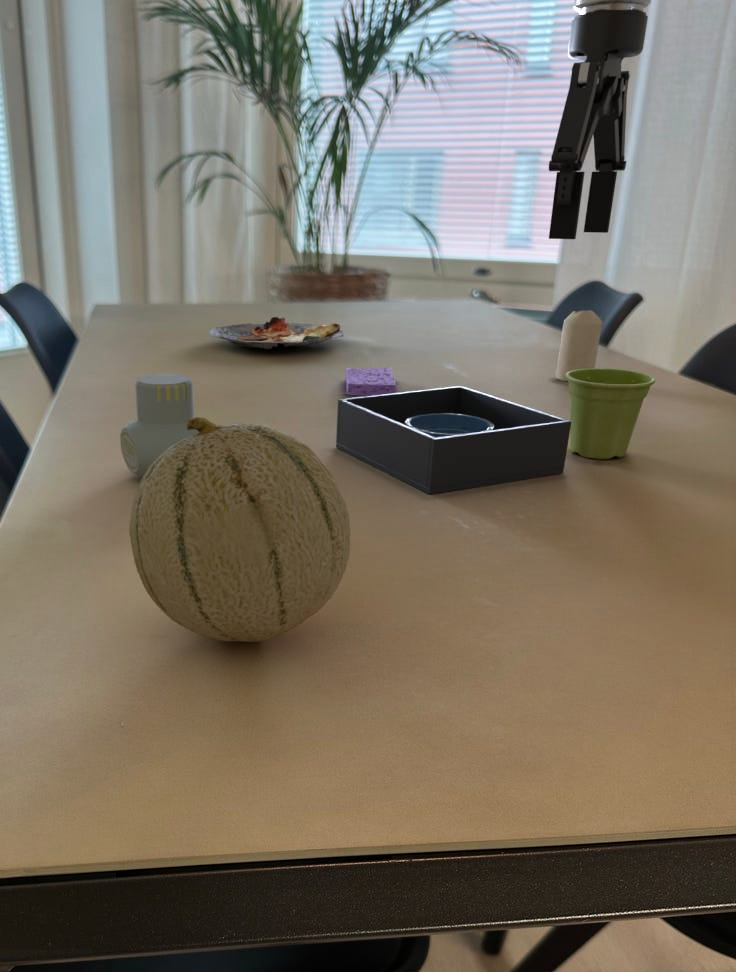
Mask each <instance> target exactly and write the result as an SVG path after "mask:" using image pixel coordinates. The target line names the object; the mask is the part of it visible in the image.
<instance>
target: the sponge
mask: <svg viewBox="0 0 736 972" xmlns="http://www.w3.org/2000/svg"><path fill="white" fill-rule="evenodd" d="M392 369H393V368H392V367H384V368H383V367H380V368H379V367H378V368H375V367H374V368H357V367H356V368H355V367H352V368H351V367H346V371H345V383H346V394H347V395H348V396H349V395H350V396H356V397H365V396H374V395H383V394H392V393H396V388H397V384H396V380H395V377H394V373H393V370H392Z"/></svg>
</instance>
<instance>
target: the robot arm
mask: <svg viewBox="0 0 736 972" xmlns="http://www.w3.org/2000/svg"><path fill="white" fill-rule="evenodd" d="M651 2H652V0H574V4H573V9H574V10H575V11H576V12H577V13H578V15H575V17H574V18H573V19H572V20H571V25H570V31H569V32H570V33H569V41H568V48H567V49H568V50H567V56H568V58H570V59H572V60H575V61H579V62H574V63H573V64H572V67H571V75H570V80H569V88H568V92H567V96H566V99H565V103H564V108H563V111H562V114H561V119H560V123H559V127H558V129H557V130H558V131H557V134H556V138H555V143H554V147H553V149H552V154H551V156H550V160H549V162H548V171H549V172H556V177H555V184H554V192H553V201H552V210H551V216H550V223H549V224H550V225H549V234H548V239H549V240H576V239H577V231H578V225H579V224H578V223H579V217H580V208H581V203H582V192H583V186H584V179H585V173H586V172H585V171H582V169H583V166H584V162H585V159H586V156H587V154H588V151H589V148H590V145H591V143H592V139H593V147H594V148H593V150H594V151H593V152H594V169H595V171H591V176H590V182H589V190H588V197H587V203H586V212H585V219H584V226H583V233H597V234H598V233H600V234H601V233H603V234H605V233H606V234H607V233H609V229H610V224H611V223H610V222H611V217H612V210H613V202H614V196H615V189H616V183H617V176H618V172H619V171H621V172H622V171H623V172H624V171H625V170H626V167H627V160H625V159H626V158H625V147H626V124H627V123H626V122H627V103H628V102H627V99H628V96H627V95H628V90H629V89H628V88H629V80H630V77H631V76H630V75H631V74H630V71H629V70H622V62H623V61H624V59H625V58H626V59H628V58H634V57H637V56H639V55H640V54H641V53H642V52H643V50H644V45H645V38H646V32H647V27H648V26H647V24H648V18H649V16H648V15H647V13H646V12H645V11H644V9H645V8H648V6H649V5H651Z"/></svg>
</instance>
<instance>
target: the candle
mask: <svg viewBox="0 0 736 972" xmlns="http://www.w3.org/2000/svg"><path fill="white" fill-rule="evenodd" d="M602 327H603V321H602V320H601V318H600V317H599V316H598V315H597V314H596V313H595V312H594V311H593V310H589V309H588V310H583V309H582V310H579V311H576V310H572V312H571V313H570V314H569V315H568V316H567V317H566V318H565V319H564V320H563V325H562V330H561V331H562V332H561V338H560V339H561V340H560V344H559V352H558V357H557V358H558V359H557V364H556V371H555V378H556V379H557V380H559V381H564V382H569V380H567V379H566V373H567V372H570V371H573V370H579V369H591V368H596V363H597V356H598V350H599V346H600V340H601V339H600V338H601V333H602Z"/></svg>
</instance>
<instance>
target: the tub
mask: <svg viewBox="0 0 736 972" xmlns="http://www.w3.org/2000/svg"><path fill="white" fill-rule="evenodd" d="M336 412H337V413H336V415H337V416H336V434H335V435H336V437H335V438H336V440H335V448H337V449H338V450H341V451H342V452H344V453H346V454H348V455H351V456H353V457H354V458H356V459H358V460H360V461H362V462H364V463H366V464H368V465H370V466H372V467H374V468H376V469H378V470H380V471H382V472H383V473H386V474H388V475H390V476H392V477H394V478H396V479H398V480H400V481H402V482H404V483H406V484H408V485H410V486H411V487H414V488H416V489H418V490H420V491H422V492H424V493H426V494H427V495H436V494H442V493H446V492H447V493H448V492H454V491H455V492H456V491H461V490H467V489H473V488H479V487H485V486H491V485H498V484H505V483H509V482H517V481H522V480H529V479H535V478H540V477H541V478H542V477H548V476H554V475H561V474H564V471H565V464H566V459H567V451H568V446H569V441H570V428H571V420H568V419H565V418H562V417H559V416H556V415H552V414H550V413H547V412H544V411H540V410H537V409H534V408H532V407H528V406H525V405H522V404H518V403H517V402H516V403H515V402H513V401H509V400H506V399H503V398H500V397H497V396H494V395H491V394H488V393H485V392H482V391H478V390H476V389H473V388H469V387H466V386H462V385H456V386H448V387H438V388H430V389H421V390H412V391H403V392H395V393H392V394H383V395H374V396H356V397H346V398H339V399H337V411H336ZM430 413H452V414H464V415H470V416H475V417H480V418H483V419H485V420H488V421H490V422H492V423H493V424H494V425H495V428H494V430H491V431H483V432H476V433H468V434H461V435H453V436H446V437H438V438H435V437H433V436H430V435H428V434H426V433H423V432H421V431H418V430H416V429H414V428H411V427H409V426H406V425H404V424H405V421H406V420H407V419H408V418H410V417H413V416H416V415H422V414H430Z"/></svg>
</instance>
